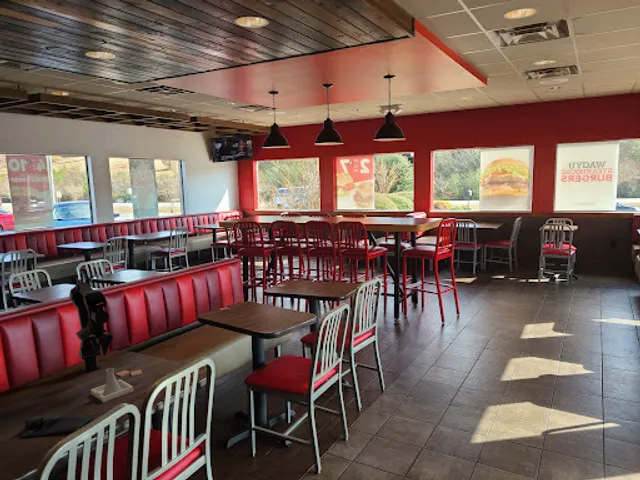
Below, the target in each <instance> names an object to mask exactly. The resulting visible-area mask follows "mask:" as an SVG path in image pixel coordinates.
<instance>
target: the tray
mask: <svg viewBox="0 0 640 480" xmlns="http://www.w3.org/2000/svg"><path fill="white" fill-rule="evenodd" d="M116 380H117V379H116ZM117 382H118V384H119V386H120V387H121V389H122V390H120V391H118V392H115V393H112V394H109V395H104V394H103V392H104V388H105V384H102V385H99V386H97V387H93V388H92V389H91V388H90V391H91V392H90V393H91V394H90V395H92V396H93V397H95V398H96V399H98V400H99V401H100V402H101V403H103V404H104V403H106V402H109V401H112V400H115V399H116V398H117V399H118V398H119V397H123V396H125V395H128V394H130V393H134V386H133V385H131V384H129V383H127V382H126V381H124V380H122V379H121V378H120V379H118V380H117Z"/></svg>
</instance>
